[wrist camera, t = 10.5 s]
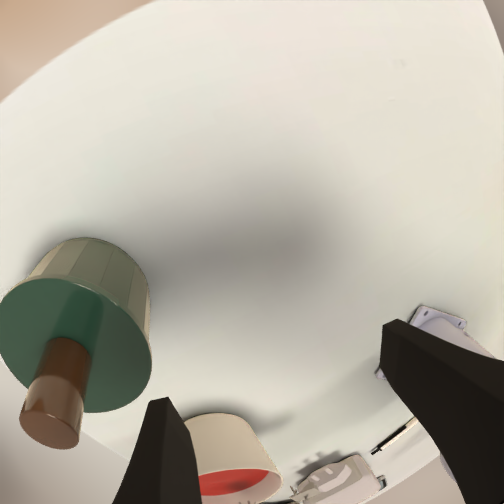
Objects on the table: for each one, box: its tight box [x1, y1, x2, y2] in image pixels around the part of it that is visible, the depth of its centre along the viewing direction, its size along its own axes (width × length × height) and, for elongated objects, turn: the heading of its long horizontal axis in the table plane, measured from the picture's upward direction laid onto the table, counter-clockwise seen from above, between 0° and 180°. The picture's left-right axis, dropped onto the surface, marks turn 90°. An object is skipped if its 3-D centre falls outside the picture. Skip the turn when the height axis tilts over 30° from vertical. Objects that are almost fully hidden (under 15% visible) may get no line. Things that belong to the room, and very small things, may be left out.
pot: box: [28, 238, 150, 340], centre depth 15 cm, size 7×7×5 cm
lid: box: [0, 274, 152, 449], centre depth 11 cm, size 8×8×6 cm
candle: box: [184, 413, 283, 504], centre depth 22 cm, size 9×9×6 cm
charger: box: [298, 455, 381, 504], centre depth 32 cm, size 5×9×15 cm
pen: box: [371, 417, 419, 455], centre depth 33 cm, size 1×19×1 cm
